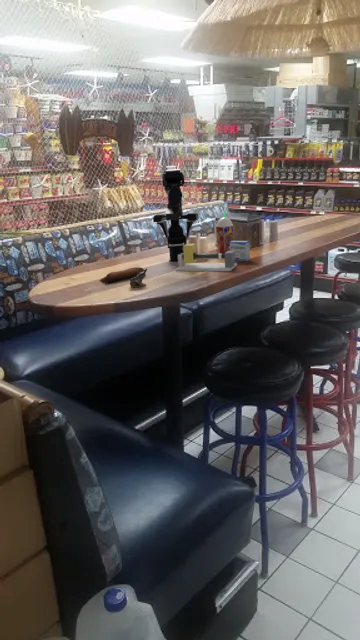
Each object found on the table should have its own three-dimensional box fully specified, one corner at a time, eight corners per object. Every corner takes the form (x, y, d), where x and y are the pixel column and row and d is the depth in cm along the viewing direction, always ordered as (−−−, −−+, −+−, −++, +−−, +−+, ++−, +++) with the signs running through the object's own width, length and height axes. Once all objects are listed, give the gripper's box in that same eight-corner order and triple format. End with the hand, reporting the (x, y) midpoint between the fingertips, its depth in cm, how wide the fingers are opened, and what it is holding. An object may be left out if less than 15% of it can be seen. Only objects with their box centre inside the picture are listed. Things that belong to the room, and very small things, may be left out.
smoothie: (234, 254, 245) (233, 211, 239) (217, 255, 246) (215, 213, 239) (233, 251, 253) (232, 210, 247) (216, 252, 253) (214, 211, 247)
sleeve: (184, 263, 221) (183, 245, 219) (188, 260, 225) (186, 243, 223) (193, 263, 220) (192, 245, 217) (196, 260, 224) (195, 243, 222)
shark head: (144, 286, 201) (142, 268, 201) (153, 285, 196) (151, 267, 196) (127, 288, 197) (125, 270, 196) (136, 288, 192) (134, 269, 191)
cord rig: (175, 270, 220) (174, 254, 218) (184, 264, 230) (183, 249, 228) (230, 271, 211) (229, 254, 209) (237, 265, 222) (236, 249, 220)
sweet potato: (135, 272, 220) (138, 260, 216) (143, 283, 217) (146, 271, 212) (97, 280, 211) (99, 268, 206) (105, 291, 207) (107, 279, 202)
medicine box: (230, 261, 231) (229, 241, 229) (233, 259, 235) (233, 240, 232) (246, 261, 228) (246, 242, 225) (250, 259, 231) (249, 240, 229)
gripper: (147, 203, 211) (151, 241, 216) (192, 201, 207) (194, 240, 211) (155, 200, 221) (158, 237, 226) (198, 198, 217) (200, 235, 222)
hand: (177, 237), depth 221 cm, fingers open, 9 cm apart
